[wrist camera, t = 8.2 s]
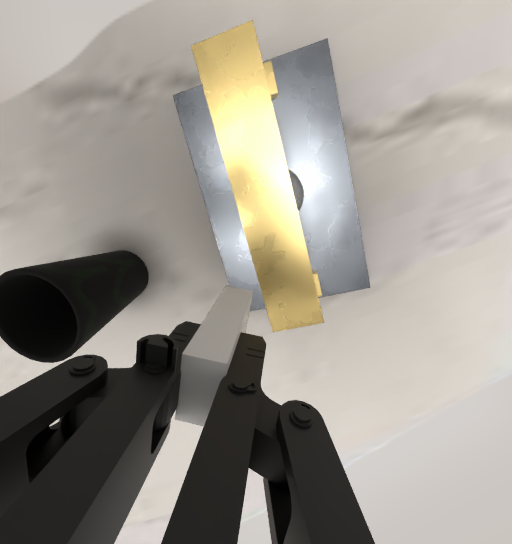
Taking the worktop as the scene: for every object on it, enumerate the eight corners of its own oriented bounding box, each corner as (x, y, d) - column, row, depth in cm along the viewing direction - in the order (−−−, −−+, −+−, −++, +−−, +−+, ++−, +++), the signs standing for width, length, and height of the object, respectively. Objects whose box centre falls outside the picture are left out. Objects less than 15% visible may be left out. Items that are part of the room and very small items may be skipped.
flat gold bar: (278, 295, 24) (273, 332, 17) (222, 92, 20) (191, 45, 14) (315, 287, 23) (324, 322, 17) (265, 76, 19) (252, 20, 13)
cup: (152, 240, 31) (68, 268, 19) (161, 304, 33) (91, 365, 21) (88, 242, 32) (-27, 270, 20) (101, 304, 34) (3, 361, 22)
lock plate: (177, 99, 26) (146, 73, 21) (325, 45, 24) (336, -1, 18) (239, 309, 32) (228, 335, 26) (367, 283, 29) (385, 306, 23)
